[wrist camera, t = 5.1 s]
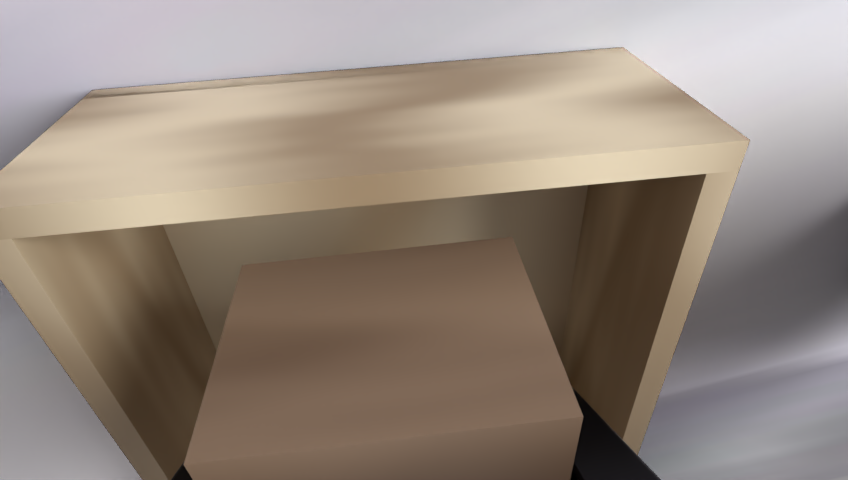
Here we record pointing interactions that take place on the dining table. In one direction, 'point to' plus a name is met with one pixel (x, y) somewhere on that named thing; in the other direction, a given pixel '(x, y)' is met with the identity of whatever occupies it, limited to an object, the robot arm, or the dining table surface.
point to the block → (387, 372)
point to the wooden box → (363, 215)
